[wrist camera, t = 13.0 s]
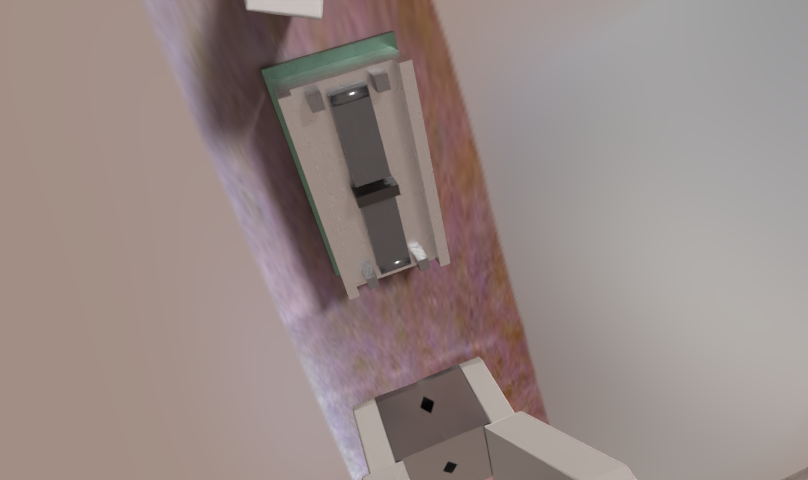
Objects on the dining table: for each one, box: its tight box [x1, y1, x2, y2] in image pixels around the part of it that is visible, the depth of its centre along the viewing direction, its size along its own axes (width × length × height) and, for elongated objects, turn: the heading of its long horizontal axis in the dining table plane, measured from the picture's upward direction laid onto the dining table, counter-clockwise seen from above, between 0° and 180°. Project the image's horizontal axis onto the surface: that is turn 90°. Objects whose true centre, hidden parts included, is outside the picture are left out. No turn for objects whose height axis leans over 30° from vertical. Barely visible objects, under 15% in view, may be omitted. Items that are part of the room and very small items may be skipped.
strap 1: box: [327, 82, 391, 187], centre depth 38 cm, size 8×3×1 cm, turn 12°
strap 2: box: [361, 197, 412, 275], centre depth 43 cm, size 8×3×1 cm, turn 12°
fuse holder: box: [261, 31, 450, 300], centre depth 42 cm, size 21×11×7 cm, turn 12°
